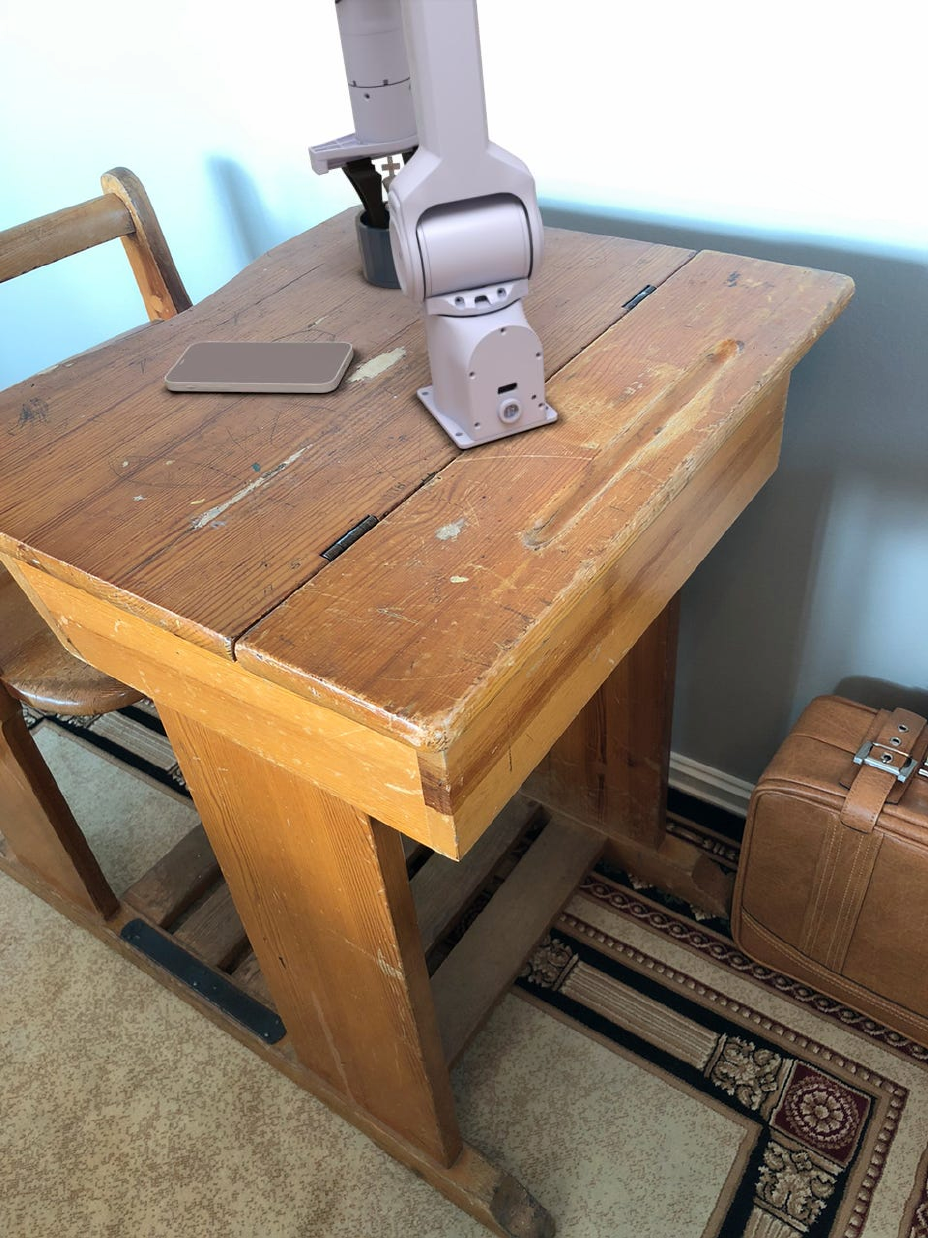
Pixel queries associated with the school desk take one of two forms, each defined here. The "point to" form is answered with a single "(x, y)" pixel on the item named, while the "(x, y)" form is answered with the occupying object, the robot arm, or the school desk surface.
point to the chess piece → (388, 180)
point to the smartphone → (261, 367)
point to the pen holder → (376, 251)
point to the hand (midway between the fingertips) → (401, 234)
